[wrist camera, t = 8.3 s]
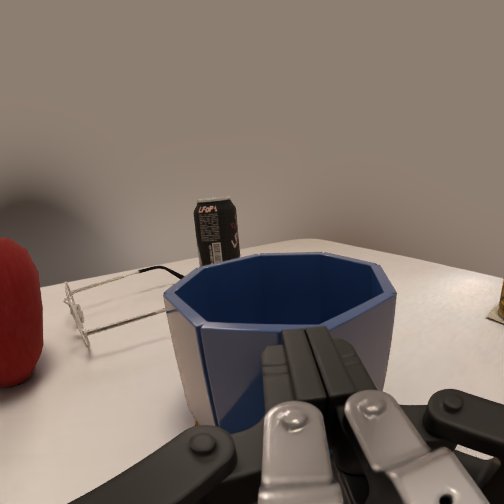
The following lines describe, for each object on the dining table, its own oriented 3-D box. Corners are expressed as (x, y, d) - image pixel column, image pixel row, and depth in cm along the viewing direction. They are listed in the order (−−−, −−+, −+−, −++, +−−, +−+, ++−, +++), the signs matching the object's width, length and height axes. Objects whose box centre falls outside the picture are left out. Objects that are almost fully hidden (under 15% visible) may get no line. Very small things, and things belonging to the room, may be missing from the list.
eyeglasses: (67, 312, 34) (58, 276, 33) (184, 279, 45) (180, 247, 44) (83, 367, 22) (66, 316, 21) (249, 309, 33) (245, 266, 32)
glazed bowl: (406, 398, 16) (428, 274, 14) (259, 504, 10) (241, 368, 8) (296, 341, 25) (293, 245, 23) (172, 389, 19) (147, 278, 17)
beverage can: (229, 274, 47) (221, 195, 44) (250, 282, 42) (243, 195, 39) (195, 282, 44) (185, 200, 41) (214, 293, 39) (203, 200, 36)
